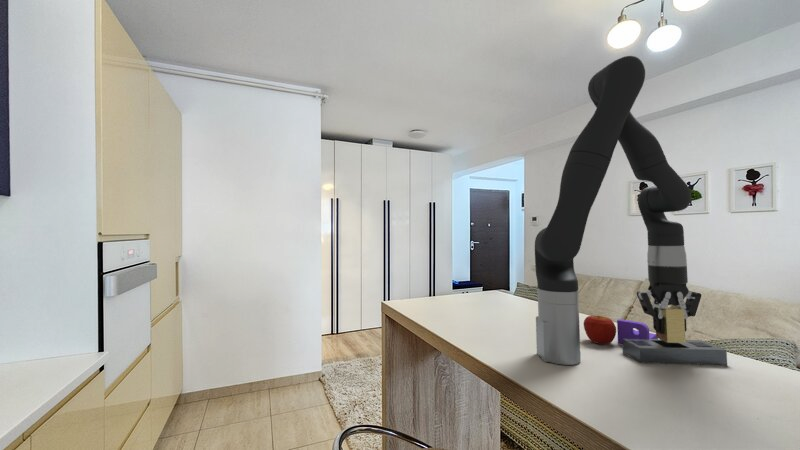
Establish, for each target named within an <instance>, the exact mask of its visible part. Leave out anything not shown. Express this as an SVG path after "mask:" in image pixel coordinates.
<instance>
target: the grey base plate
mask: <svg viewBox="0 0 800 450" xmlns="http://www.w3.org/2000/svg"><path fill="white" fill-rule="evenodd" d="M622 340H623V344H622V353H623V354H625V355H627V356H628V357H630V358H632V359H633V360H635V361H637V362H638V363H641V364H668V365H670V364H674V365H704V366H705V365H707V366H708V365H711V366H712V365H713V366H715V365H717V366H728V355H727V354H728V352H727V350H728V349H725V348H723V347H720V346H718V345H715V344H712V343H710V342H708V341H704V340H702V339H685V341H686V343H667V342H665V341H663V340H661V339H622Z"/></svg>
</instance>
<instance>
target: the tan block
mask: <svg viewBox="0 0 800 450" xmlns="http://www.w3.org/2000/svg"><path fill="white" fill-rule="evenodd" d="M662 319H664V334H660V333H658V332H656V331H655V334H656V338H658V339H661V340H663V341H665V342H667V343H686V341H685V340H686V332H685V322H684V309H679V308H676V307H672V306H671V305H668V306H667V309H665V310H664V316H663V318H662Z"/></svg>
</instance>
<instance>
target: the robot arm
mask: <svg viewBox="0 0 800 450" xmlns="http://www.w3.org/2000/svg"><path fill="white" fill-rule="evenodd" d="M645 78H646V67H645V64H644V63H643V61H642V59H640V57H637V56H634V55H626V56H622V57H619V58H617V59H616V60H614V61H612V62H610V63H609V64H607V65H606V66H605V67H603V68H602V69H601V70H599V71H597V72H595V74H594V75H593V76H592V77H591V78H590V80H589V82H588V86H587V90H588V91H587V92H588V95H589V98H590V100H591V101H592V103H593V105H594V107H595V108H596V109H595V111H594V113H593V115H592V117H591V118H590V119H589V121H588V122H587V123H586V125H585V127H584V128H583V129H582V130H581V132H580V134H579V135H578V136H577V138H576V139H575V141H574V143H573V144H572V146H571V148H570V151H569V153H568V156H567V158H566V161H565V163H564V167H563V169H562V170H563V171H562V174H561V178H560V184H559V185H560V186H559V196H558V200H557V203H556V206H555V207H556V208H555V209H554V211H553V213H552V216H551V219H550V220H549V222H548V224H547V226H546V227H545V228H543V229H541V230H540V231H539V232H538V233H537V234H536V237H535V239H534V240H535V241H534V264H535V265H534V266H535V276H536V281H537V282H536V283H537V311H538V313H537V315H538V316H536V317H535V334H536V335H535V337H536V338H535V339H536V354H537V355H538V356H539V357H540V358H541V360H542V361H544V362H546V363H552V364H556V365H564V366H573V365H577V364H580V363H581V353H582V352H581V339H580V338H581V337H580V333H581V332H580V331H581V330H580V307H579V306H580V304H579V302H580V301H579V280H578V278H577V276H576V272H575V267H574V266H575V265H574V259H575V257H576V256H577V255H578V254H579V251H580V250H581V246H582V242H583V238H584V233H585V230H586V226H587V221H588V218H589V215H590V213H591V210H592V207H593V205H594V203H595V201H596V198H597V196H598V193H599V192H600V189H601V186H602V183H604V182H603V181H604V180H605V177H606V174H607V171H608V169H609V167H610V163H611V161H612V158H613V154H614V152H615V149H616V147H617V144H618V143H619V144H620V146H621V149H623V152H624V154H625V157H626V159H627V161H628V163H629V166H630V168H631V170H632V172H633V174H634V176H635V178H636V179H637V180H638V181H645V182H650V183H652V184H653V186H648V187H645V188H643V189H642V190H641V191H640V193H639V195H638V197H637V205H638V210H639V212H640V215H641V217H642V220H643V223H644V225H645V228H646V231H647V253H646V254H647V260H646V261H647V275H648V277H647V278H648V282H649V286H648V288H647V290H644V291H639V290H638V291H637V292H636V293H635V294H636V296H637V299H638V301H639V303H640V305H641V308H642V310H643V313H644V314H646V315H649V316H651V317H652V323H653V324H652V325H653V326H652V327H653V330H654V331H655V333H656V332H658V333H660V334H664V319H662V318H663V316H664V310H665V309H667V306H672V307H676V308H679V309H684V322H685V333H686V332H687V329H688V328H687V319H688V318H690V317H695V316H696V314H697V312H698V308H699V305H700V301H701V299H702V294H701V293H700V292H697V291H691V290H689V288H688V286H687V284H688V282H689V281H688V279H689V278H688V263H687V261H688V260H687V252H686V248H685V247H686V246H685V234H684V233H685V232H684V226H683V225H682V224H681V223H680V222H679V221H678V222H677V221H671V220H668V218H667V216H666V214H665V213H673V212H674V213H675V212H680V211H683V210H686V209H687V208H688V207H689V206H690V205H691V201H692V192H691V190H690V188H689V186H688V184H687V183H686V182H685V180H683V178H682V177H681V176H680V175H679V173H677V172H676V171H675V170H674V168H673V167H672V166H671V165H670V164H669V162H668V160H667V158H666V155H665V153H664V151H663V148H662V146H661V144H660V142H659V140H658V139H657V137H656V136H655V135H654V134H653V133H652V132H651V131H650V130H649V129H648V128H646V127H645V126H644V125H643V123H641V122H640V121H639V119H637V118H636V117H635V115H633V112H631V110H632V108H633V106H634V104H635V102H636V100H637V98H638V96H639V94H640V92H641V90H642V88H643V85H644V83H645ZM652 298H653V300H652V302H651V299H652ZM685 298H686V299H685Z"/></svg>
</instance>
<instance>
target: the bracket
mask: <svg viewBox="0 0 800 450" xmlns="http://www.w3.org/2000/svg"><path fill="white" fill-rule="evenodd" d="M616 332H617V344H619V345H623V340H622V339H658V338H656V333H652V332H650V328H649V326H648V325H647V324H646V323H644V322H642V321H641V322H639V321H634V320H629V319H621V318H619V319H617V320H616Z"/></svg>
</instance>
